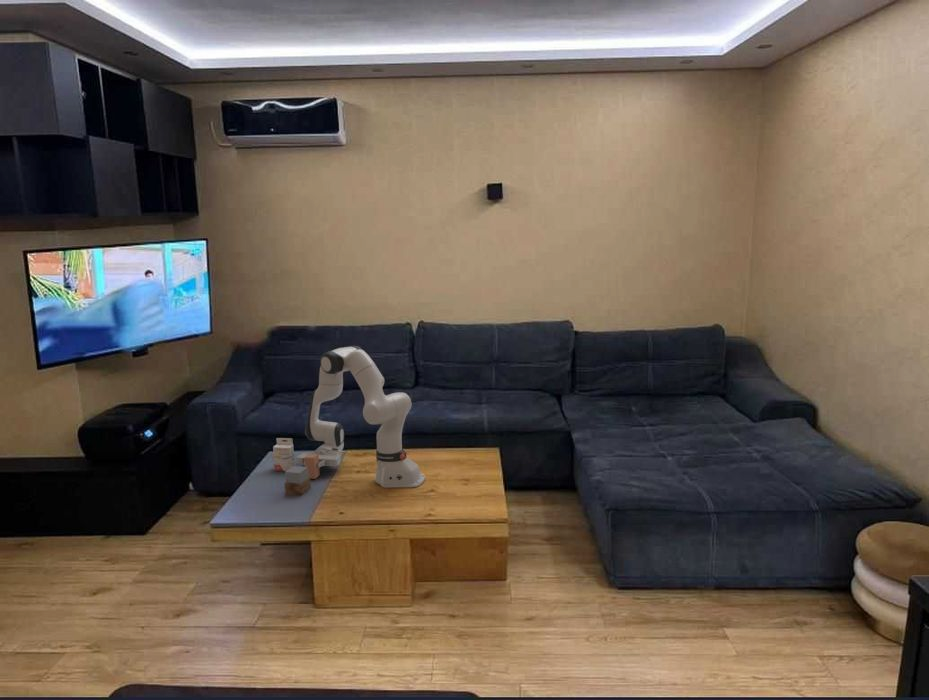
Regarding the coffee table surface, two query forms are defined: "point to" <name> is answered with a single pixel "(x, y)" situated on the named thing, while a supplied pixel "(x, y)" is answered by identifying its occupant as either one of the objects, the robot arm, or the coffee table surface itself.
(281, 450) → the ink cartridge box
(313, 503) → the coffee table surface
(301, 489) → the tower base
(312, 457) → the terracotta block
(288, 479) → the tower top
